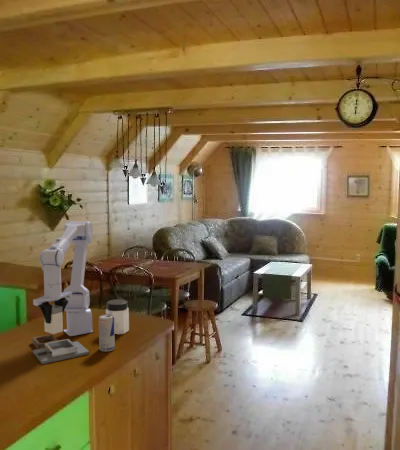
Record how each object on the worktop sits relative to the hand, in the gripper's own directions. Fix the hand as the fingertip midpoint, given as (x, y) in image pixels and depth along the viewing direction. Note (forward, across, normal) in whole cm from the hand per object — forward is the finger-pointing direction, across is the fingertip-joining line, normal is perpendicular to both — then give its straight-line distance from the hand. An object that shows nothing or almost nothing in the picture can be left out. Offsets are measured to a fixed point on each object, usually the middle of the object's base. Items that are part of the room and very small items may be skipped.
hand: (53, 321), depth 164 cm
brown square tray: (+10, -1, -8) cm, 13 cm away
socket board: (+10, +1, +4) cm, 11 cm away
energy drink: (+11, -12, +14) cm, 21 cm away
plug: (+4, 0, 0) cm, 4 cm away
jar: (+11, -28, +2) cm, 30 cm away
